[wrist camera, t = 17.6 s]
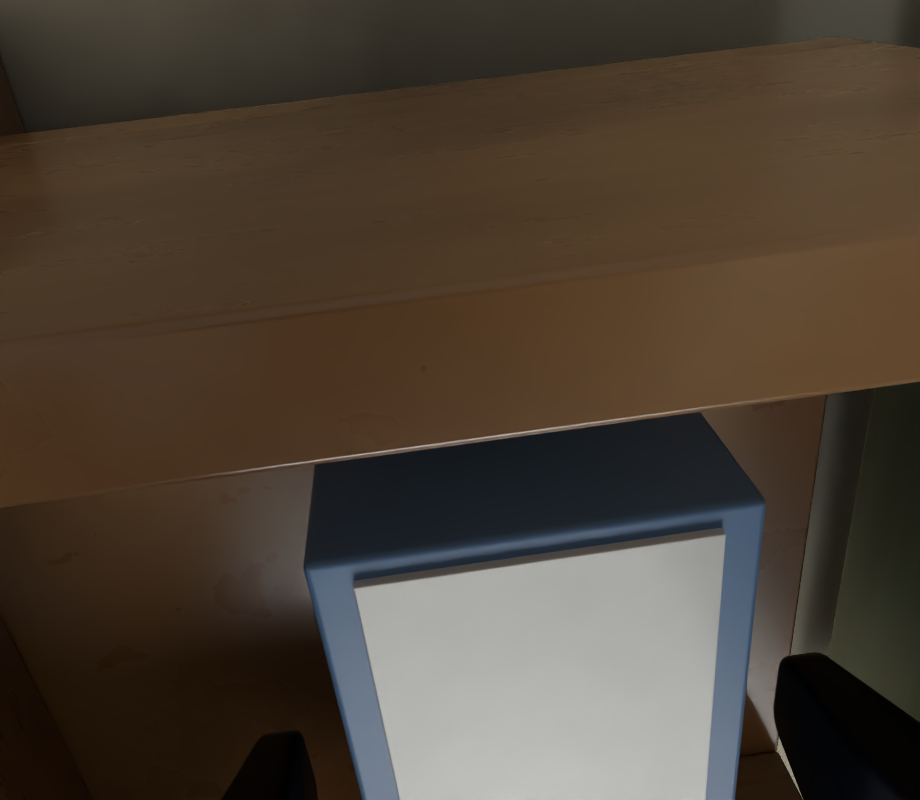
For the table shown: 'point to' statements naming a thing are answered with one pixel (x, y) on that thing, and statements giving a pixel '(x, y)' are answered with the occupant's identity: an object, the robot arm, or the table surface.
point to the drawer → (428, 368)
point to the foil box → (541, 613)
